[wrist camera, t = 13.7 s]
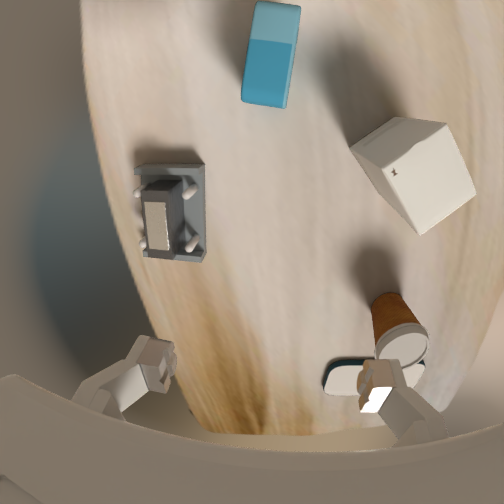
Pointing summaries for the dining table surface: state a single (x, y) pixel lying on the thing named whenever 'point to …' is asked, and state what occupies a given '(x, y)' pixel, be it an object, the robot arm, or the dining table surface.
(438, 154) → the supplement box
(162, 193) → the block
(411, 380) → the white teal rounded slab
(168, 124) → the dining table surface
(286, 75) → the data package
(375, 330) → the disposable coffee cup
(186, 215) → the tray
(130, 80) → the dining table surface
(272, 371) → the dining table surface
